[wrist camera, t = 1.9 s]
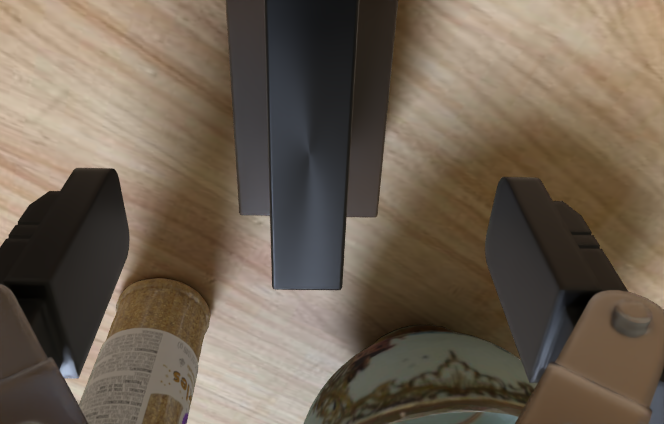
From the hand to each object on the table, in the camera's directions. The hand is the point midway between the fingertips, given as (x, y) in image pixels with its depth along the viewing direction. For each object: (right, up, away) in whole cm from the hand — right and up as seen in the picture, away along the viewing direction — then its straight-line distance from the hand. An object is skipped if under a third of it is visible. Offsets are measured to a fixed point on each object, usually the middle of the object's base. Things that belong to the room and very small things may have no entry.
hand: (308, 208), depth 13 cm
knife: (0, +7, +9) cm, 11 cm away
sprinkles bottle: (-8, -5, +17) cm, 19 cm away
